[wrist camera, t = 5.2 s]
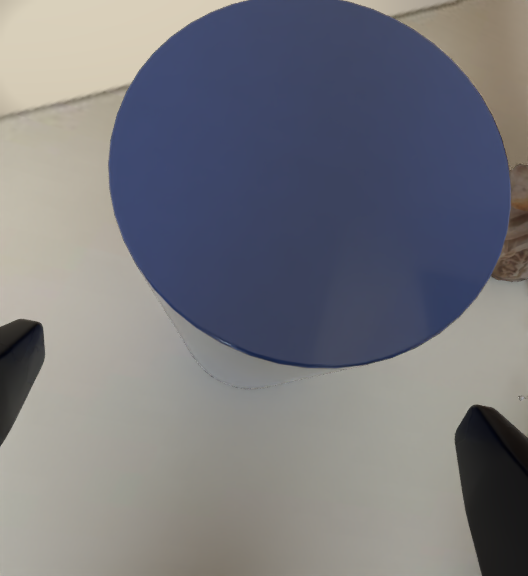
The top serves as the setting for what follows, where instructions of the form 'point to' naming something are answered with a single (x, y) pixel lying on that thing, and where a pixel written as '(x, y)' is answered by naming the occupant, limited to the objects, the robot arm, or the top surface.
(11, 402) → the robot arm
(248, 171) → the tall blue cylinder
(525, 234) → the figurine
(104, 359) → the top surface
